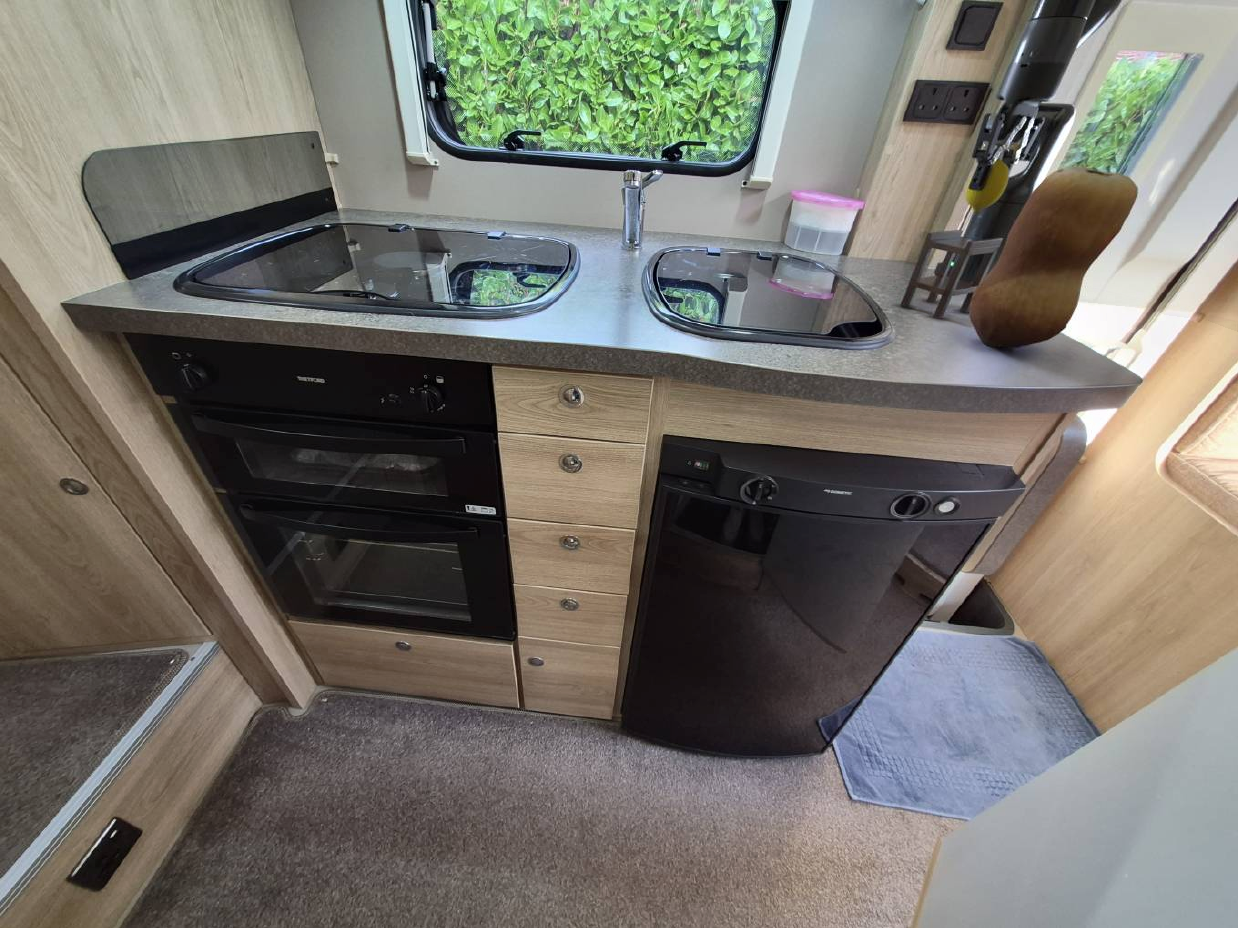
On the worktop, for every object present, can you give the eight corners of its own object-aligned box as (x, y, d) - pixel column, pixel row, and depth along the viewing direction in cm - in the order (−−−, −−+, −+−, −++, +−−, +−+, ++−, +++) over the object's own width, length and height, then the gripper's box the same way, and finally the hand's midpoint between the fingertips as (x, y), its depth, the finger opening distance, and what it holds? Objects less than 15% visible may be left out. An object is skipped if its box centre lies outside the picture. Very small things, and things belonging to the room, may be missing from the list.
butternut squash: (1050, 369, 73) (1167, 176, 58) (950, 346, 79) (1033, 165, 64) (1045, 342, 83) (1145, 170, 68) (956, 323, 88) (1030, 161, 74)
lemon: (953, 210, 85) (975, 156, 80) (962, 208, 88) (984, 156, 84) (989, 216, 82) (1013, 160, 77) (997, 213, 85) (1021, 159, 80)
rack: (899, 306, 96) (927, 232, 88) (929, 300, 100) (959, 229, 92) (938, 319, 90) (972, 242, 82) (968, 312, 94) (1003, 238, 87)
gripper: (1036, 67, 79) (985, 186, 89) (988, 58, 73) (939, 187, 83) (1090, 65, 74) (1029, 192, 84) (1043, 55, 68) (984, 194, 77)
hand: (985, 189), depth 83 cm, fingers closed on lemon, 5 cm apart
